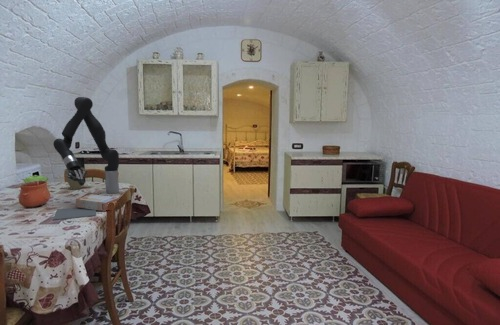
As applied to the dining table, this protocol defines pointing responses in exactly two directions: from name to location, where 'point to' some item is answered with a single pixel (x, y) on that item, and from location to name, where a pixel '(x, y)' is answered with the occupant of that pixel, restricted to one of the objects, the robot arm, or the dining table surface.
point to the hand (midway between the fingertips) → (82, 184)
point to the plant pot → (73, 184)
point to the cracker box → (94, 202)
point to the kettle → (35, 178)
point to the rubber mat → (73, 213)
